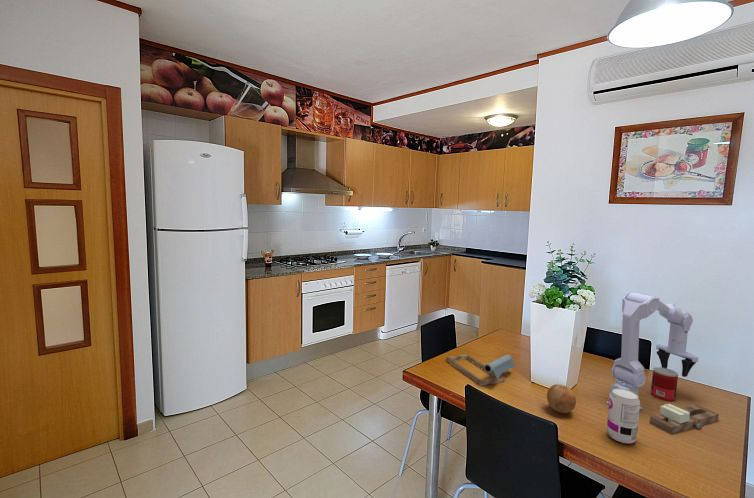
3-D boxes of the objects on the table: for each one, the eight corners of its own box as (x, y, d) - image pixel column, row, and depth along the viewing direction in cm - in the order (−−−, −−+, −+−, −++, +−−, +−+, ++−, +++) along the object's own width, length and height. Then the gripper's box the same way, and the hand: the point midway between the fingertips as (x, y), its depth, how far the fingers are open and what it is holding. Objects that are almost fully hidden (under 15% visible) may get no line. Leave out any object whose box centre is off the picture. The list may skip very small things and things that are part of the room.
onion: (575, 408, 138) (577, 383, 137) (574, 421, 130) (576, 394, 129) (547, 401, 143) (549, 377, 142) (544, 413, 135) (546, 387, 134)
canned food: (679, 402, 145) (682, 376, 144) (657, 400, 147) (659, 373, 146) (668, 393, 152) (671, 368, 151) (647, 391, 154) (649, 366, 153)
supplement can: (603, 436, 121) (607, 393, 120) (610, 427, 127) (613, 385, 125) (633, 448, 115) (637, 402, 114) (638, 437, 121) (642, 393, 120)
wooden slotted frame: (675, 436, 122) (676, 429, 122) (645, 421, 131) (646, 414, 131) (722, 422, 131) (723, 416, 131) (691, 409, 140) (692, 403, 140)
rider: (679, 430, 125) (681, 414, 124) (658, 420, 131) (660, 405, 130) (688, 427, 127) (690, 411, 126) (668, 417, 133) (669, 402, 132)
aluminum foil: (489, 363, 153) (482, 366, 155) (497, 378, 151) (490, 381, 152) (509, 353, 170) (503, 355, 172) (516, 367, 168) (510, 369, 170)
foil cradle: (480, 385, 155) (480, 381, 155) (446, 361, 181) (446, 357, 181) (504, 381, 159) (504, 377, 159) (467, 358, 185) (467, 354, 185)
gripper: (704, 345, 143) (701, 378, 145) (665, 333, 157) (662, 364, 158) (692, 347, 141) (689, 380, 142) (653, 335, 155) (650, 366, 156)
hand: (674, 372), depth 150 cm, fingers open, 7 cm apart
